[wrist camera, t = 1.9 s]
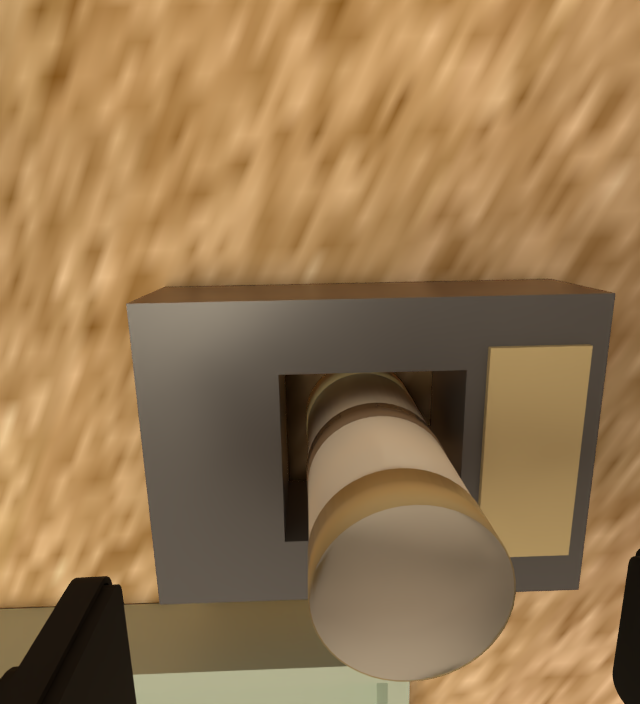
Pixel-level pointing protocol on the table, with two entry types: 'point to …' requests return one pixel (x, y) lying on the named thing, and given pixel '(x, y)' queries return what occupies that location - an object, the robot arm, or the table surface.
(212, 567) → the fuse block
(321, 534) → the fuse
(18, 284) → the table surface
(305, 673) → the parts tray
